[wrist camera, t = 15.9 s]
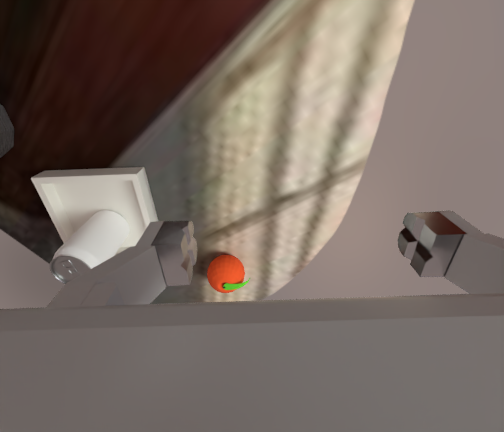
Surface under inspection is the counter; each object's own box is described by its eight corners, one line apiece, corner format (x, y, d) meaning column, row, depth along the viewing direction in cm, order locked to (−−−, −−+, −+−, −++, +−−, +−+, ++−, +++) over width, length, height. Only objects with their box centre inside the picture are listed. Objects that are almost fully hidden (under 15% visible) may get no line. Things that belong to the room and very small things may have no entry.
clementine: (250, 247, 50) (250, 273, 43) (250, 274, 53) (250, 302, 47) (208, 246, 49) (202, 273, 43) (210, 274, 53) (205, 301, 47)
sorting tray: (44, 170, 41) (30, 177, 39) (144, 166, 41) (136, 173, 39) (81, 250, 50) (72, 260, 47) (165, 247, 49) (160, 257, 47)
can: (106, 243, 48) (66, 293, 37) (84, 214, 45) (34, 260, 34) (137, 234, 47) (105, 283, 36) (117, 204, 44) (76, 248, 33)
